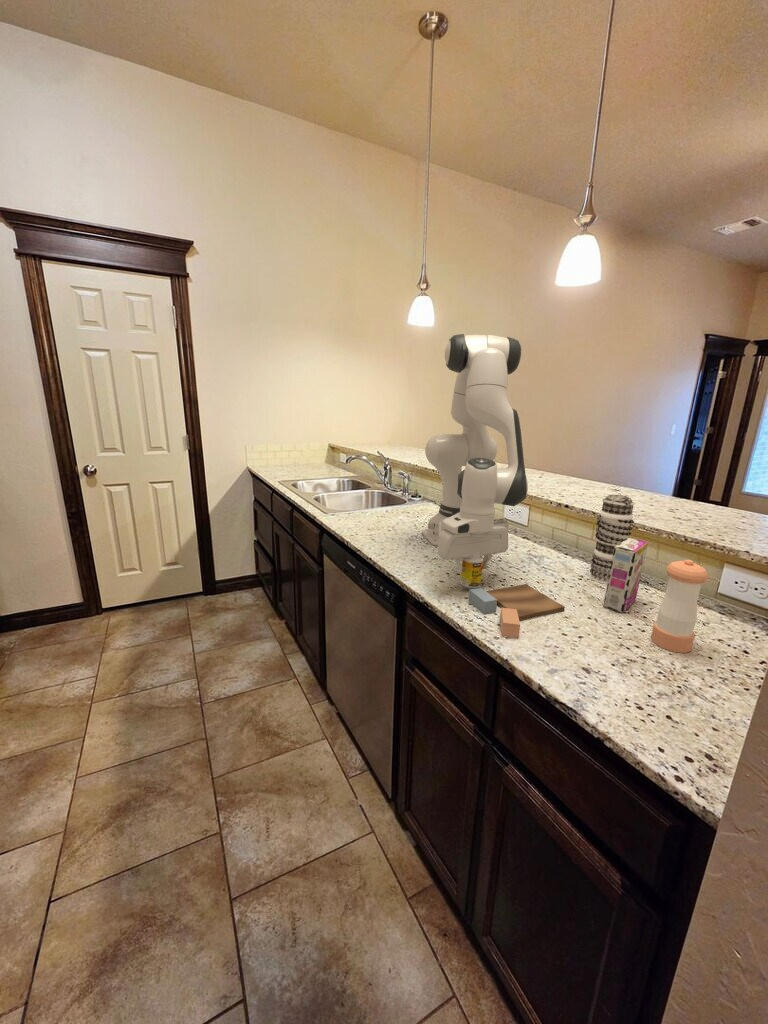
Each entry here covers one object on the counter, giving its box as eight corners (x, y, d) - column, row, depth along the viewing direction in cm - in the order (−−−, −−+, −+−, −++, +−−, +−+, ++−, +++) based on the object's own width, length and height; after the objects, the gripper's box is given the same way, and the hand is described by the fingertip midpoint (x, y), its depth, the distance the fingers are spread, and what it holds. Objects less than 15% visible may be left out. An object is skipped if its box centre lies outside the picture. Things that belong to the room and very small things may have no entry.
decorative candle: (622, 576, 123) (637, 495, 117) (623, 588, 116) (639, 501, 109) (588, 570, 128) (601, 491, 121) (587, 580, 120) (600, 497, 113)
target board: (483, 595, 109) (483, 591, 109) (525, 587, 114) (525, 583, 114) (518, 621, 97) (519, 616, 96) (564, 611, 102) (564, 606, 101)
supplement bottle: (470, 590, 109) (473, 554, 106) (456, 583, 113) (458, 548, 110) (485, 586, 112) (488, 551, 109) (470, 578, 116) (473, 544, 113)
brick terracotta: (499, 621, 97) (501, 607, 96) (515, 622, 96) (516, 609, 95) (501, 637, 90) (503, 622, 89) (518, 639, 89) (520, 624, 89)
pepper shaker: (683, 657, 84) (704, 569, 79) (644, 640, 90) (662, 558, 85) (696, 645, 88) (717, 562, 83) (659, 630, 94) (676, 551, 89)
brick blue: (468, 602, 106) (469, 589, 105) (480, 600, 107) (481, 587, 106) (483, 614, 99) (484, 601, 98) (495, 612, 101) (497, 599, 100)
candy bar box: (624, 614, 101) (636, 551, 97) (602, 607, 104) (613, 546, 100) (637, 600, 108) (649, 541, 104) (616, 594, 112) (627, 536, 108)
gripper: (501, 514, 114) (496, 561, 118) (436, 521, 107) (433, 570, 110) (516, 521, 108) (510, 569, 112) (448, 528, 101) (445, 580, 105)
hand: (471, 570), depth 111 cm, fingers closed on supplement bottle, 5 cm apart
